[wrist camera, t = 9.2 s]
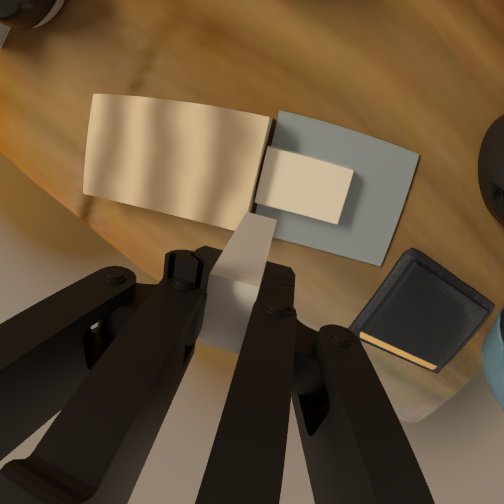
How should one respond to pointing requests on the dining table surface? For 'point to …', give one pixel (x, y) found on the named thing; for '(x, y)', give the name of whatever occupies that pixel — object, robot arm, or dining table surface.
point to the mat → (359, 193)
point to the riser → (175, 157)
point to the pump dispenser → (28, 12)
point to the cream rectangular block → (303, 184)
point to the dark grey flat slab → (422, 313)
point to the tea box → (3, 34)
